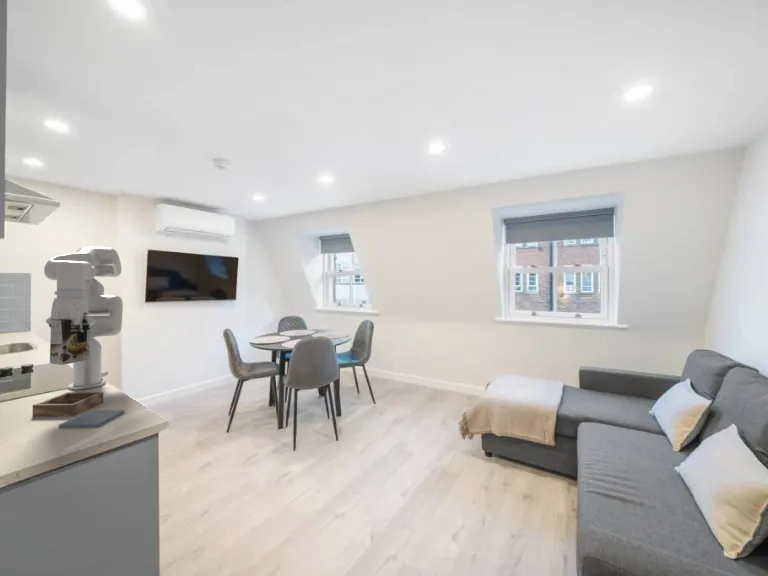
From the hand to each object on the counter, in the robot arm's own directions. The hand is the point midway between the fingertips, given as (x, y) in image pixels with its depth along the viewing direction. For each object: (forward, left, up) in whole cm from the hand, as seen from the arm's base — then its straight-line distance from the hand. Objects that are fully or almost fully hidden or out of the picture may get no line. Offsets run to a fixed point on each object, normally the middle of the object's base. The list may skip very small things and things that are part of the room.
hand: (70, 341), depth 121 cm
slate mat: (+10, +16, -25) cm, 32 cm away
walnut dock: (0, 0, -25) cm, 25 cm away
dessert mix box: (0, 0, -8) cm, 8 cm away
